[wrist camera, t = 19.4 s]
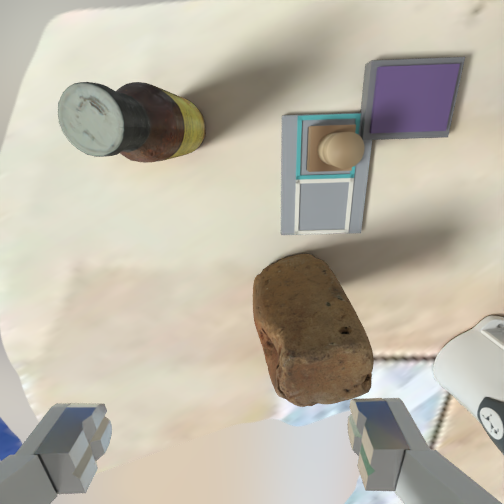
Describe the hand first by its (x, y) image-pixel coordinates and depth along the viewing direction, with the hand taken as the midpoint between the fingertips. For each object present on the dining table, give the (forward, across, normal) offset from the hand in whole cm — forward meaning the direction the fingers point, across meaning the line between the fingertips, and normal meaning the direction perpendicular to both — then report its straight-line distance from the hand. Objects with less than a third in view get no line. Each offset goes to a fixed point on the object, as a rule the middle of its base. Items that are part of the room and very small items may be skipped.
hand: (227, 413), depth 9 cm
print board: (+31, +10, +3) cm, 33 cm away
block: (+31, +6, -11) cm, 34 cm away
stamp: (+30, +10, +7) cm, 33 cm away
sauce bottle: (+31, -8, +10) cm, 34 cm away
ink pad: (+31, +19, +12) cm, 38 cm away
